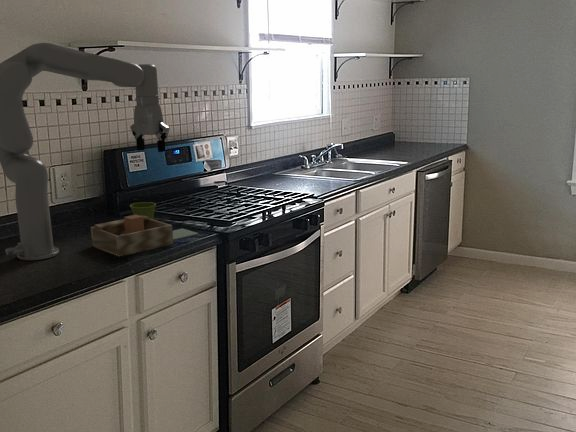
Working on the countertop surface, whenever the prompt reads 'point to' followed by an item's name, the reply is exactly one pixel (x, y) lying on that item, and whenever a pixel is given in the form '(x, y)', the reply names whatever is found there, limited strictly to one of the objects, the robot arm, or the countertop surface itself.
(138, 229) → the block
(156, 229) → the crate
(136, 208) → the plant pot
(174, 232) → the mat
